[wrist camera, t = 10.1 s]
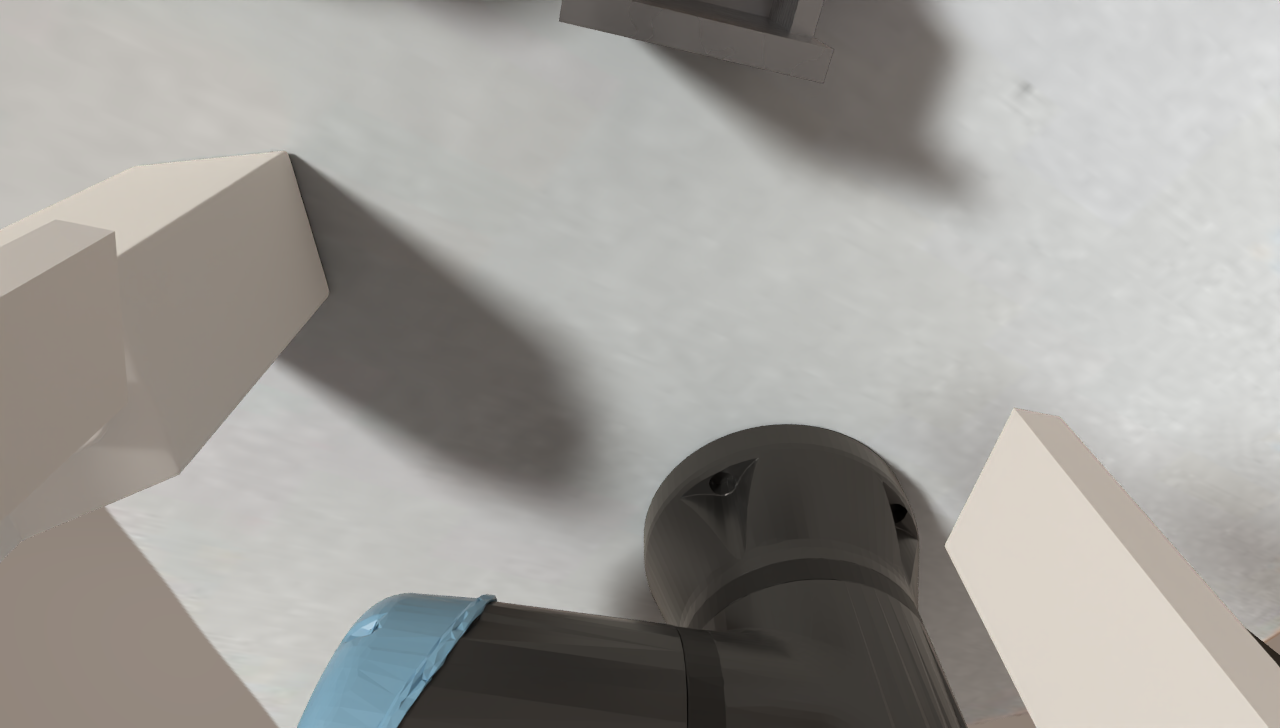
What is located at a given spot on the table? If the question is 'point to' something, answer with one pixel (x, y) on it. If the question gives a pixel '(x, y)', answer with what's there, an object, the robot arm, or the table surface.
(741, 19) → the bracket
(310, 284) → the milk carton
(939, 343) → the table surface
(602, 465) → the table surface
